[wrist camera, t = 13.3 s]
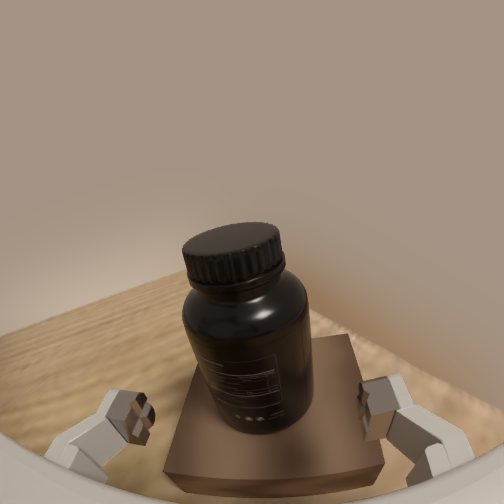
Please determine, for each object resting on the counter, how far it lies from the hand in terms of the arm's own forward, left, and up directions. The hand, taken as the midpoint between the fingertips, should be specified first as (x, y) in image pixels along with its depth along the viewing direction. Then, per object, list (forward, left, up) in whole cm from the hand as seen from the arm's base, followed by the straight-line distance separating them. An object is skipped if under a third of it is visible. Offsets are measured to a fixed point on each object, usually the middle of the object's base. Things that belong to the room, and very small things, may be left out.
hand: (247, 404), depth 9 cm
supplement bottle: (-1, +6, -8) cm, 10 cm away
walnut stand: (0, +6, -11) cm, 13 cm away
